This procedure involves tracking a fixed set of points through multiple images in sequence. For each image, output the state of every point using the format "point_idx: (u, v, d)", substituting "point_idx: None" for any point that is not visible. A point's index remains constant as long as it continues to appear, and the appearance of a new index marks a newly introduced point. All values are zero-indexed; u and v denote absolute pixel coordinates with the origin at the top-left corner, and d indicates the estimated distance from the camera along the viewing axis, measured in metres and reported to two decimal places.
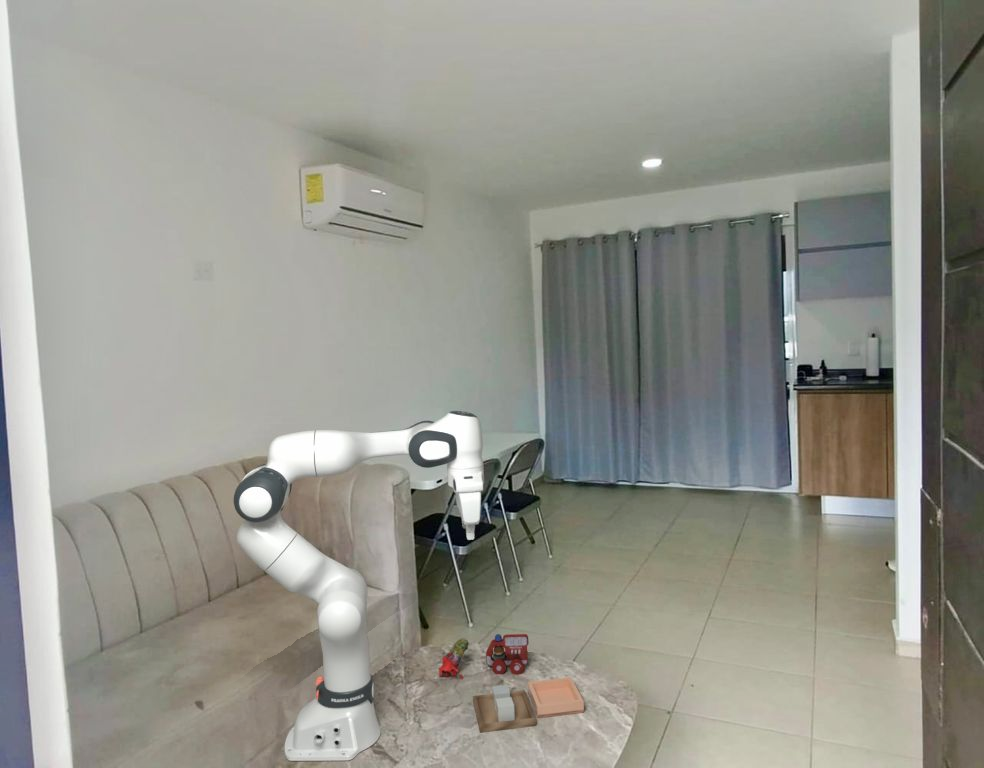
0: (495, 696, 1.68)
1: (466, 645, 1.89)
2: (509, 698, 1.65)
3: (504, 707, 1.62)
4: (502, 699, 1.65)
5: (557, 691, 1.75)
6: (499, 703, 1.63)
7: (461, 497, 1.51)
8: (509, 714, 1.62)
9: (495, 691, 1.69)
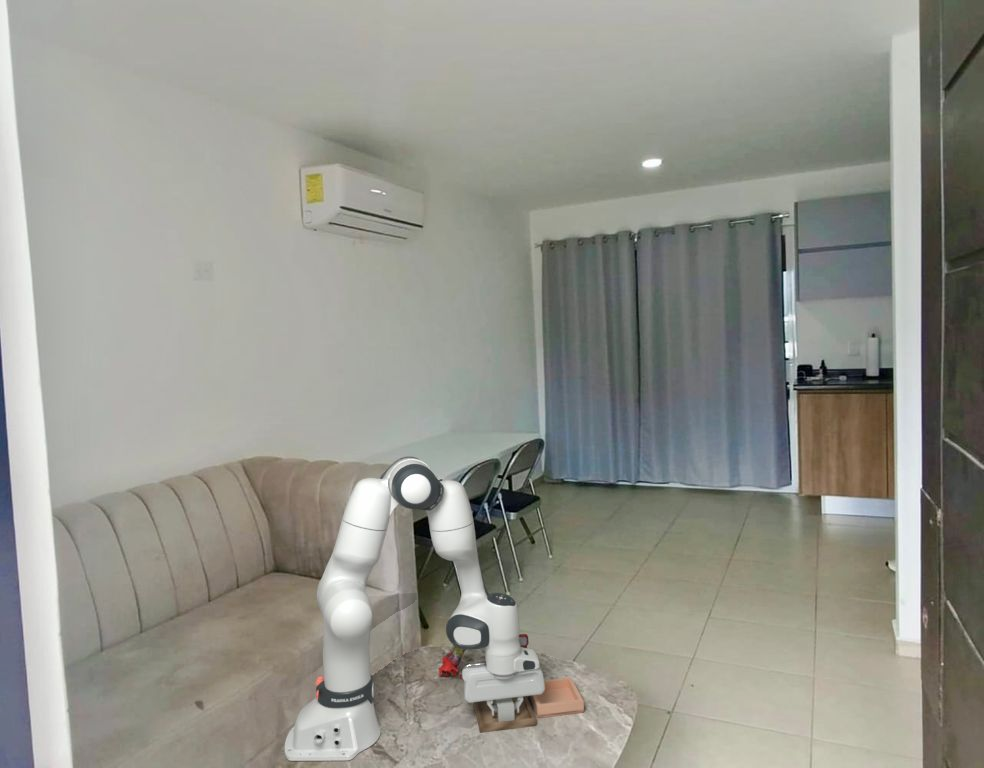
0: None
1: None
2: (509, 698, 1.65)
3: (504, 707, 1.62)
4: (502, 699, 1.65)
5: (557, 691, 1.75)
6: (499, 703, 1.63)
7: (540, 670, 1.62)
8: (509, 714, 1.62)
9: None
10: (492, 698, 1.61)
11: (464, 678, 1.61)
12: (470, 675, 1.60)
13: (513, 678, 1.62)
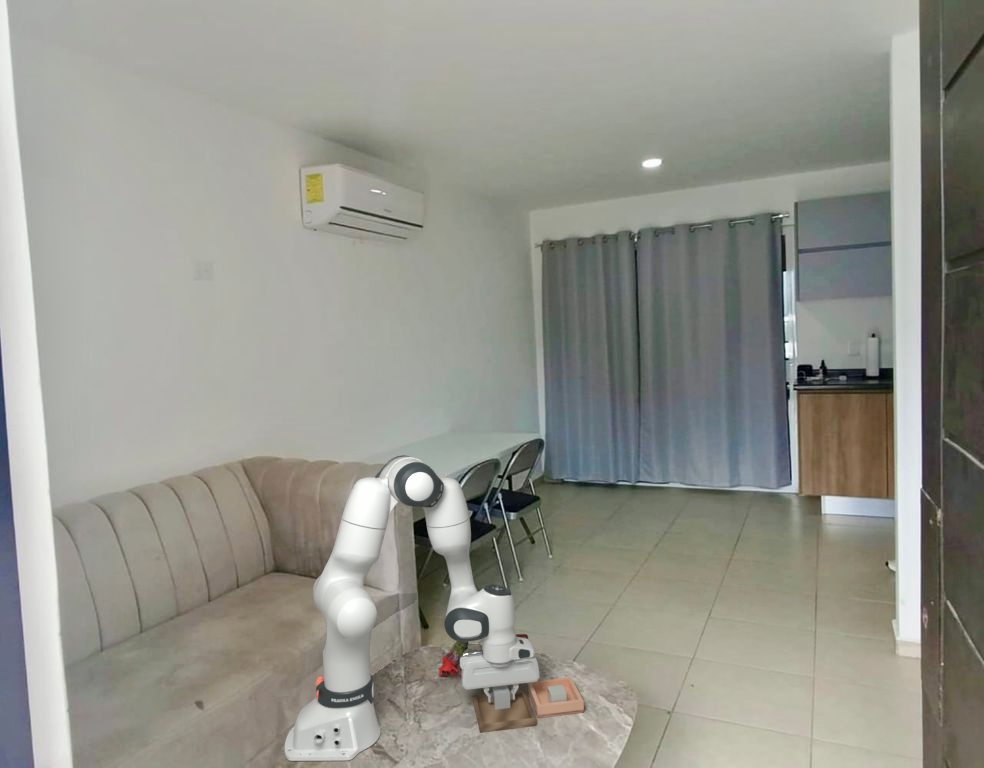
0: (495, 696, 1.68)
1: (466, 645, 1.89)
2: (560, 686, 1.70)
3: (557, 694, 1.66)
4: (554, 687, 1.69)
5: None
6: (552, 690, 1.68)
7: (535, 658, 1.68)
8: (561, 701, 1.66)
9: (495, 691, 1.69)
10: (489, 685, 1.67)
11: (461, 666, 1.67)
12: (467, 664, 1.66)
13: (509, 666, 1.68)
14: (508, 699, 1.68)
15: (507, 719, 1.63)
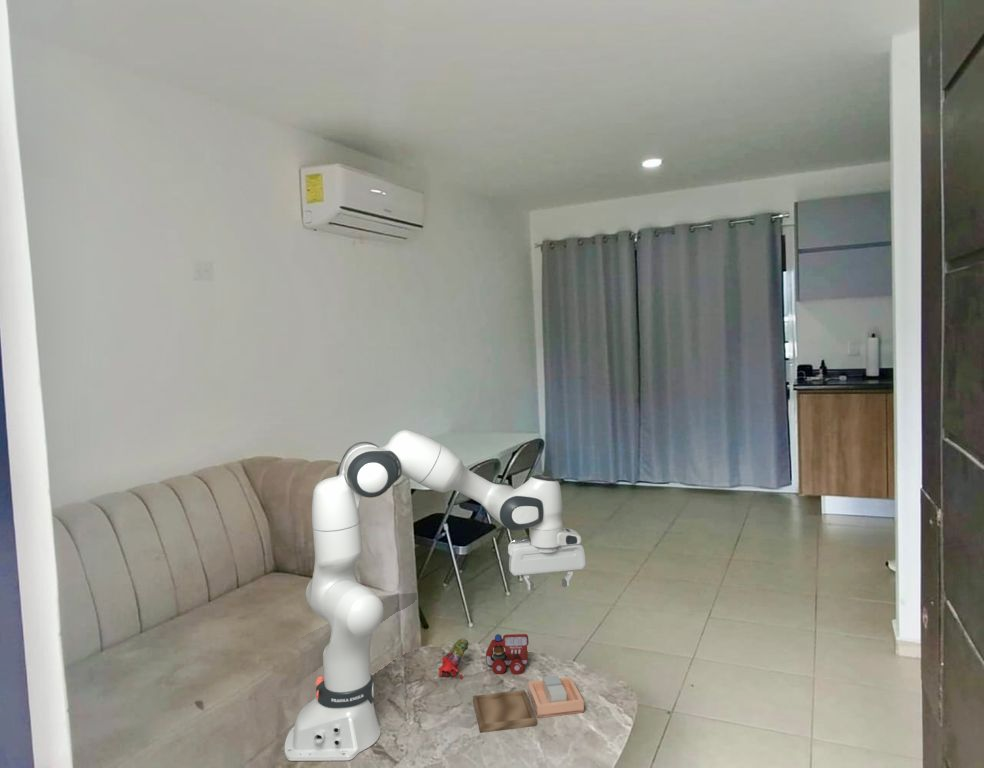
0: (547, 686, 1.71)
1: (466, 645, 1.88)
2: (560, 686, 1.70)
3: (557, 694, 1.66)
4: (554, 687, 1.69)
5: None
6: (552, 690, 1.68)
7: (582, 546, 1.71)
8: (561, 701, 1.66)
9: (547, 681, 1.72)
10: (536, 572, 1.70)
11: (510, 553, 1.70)
12: (515, 549, 1.69)
13: (556, 553, 1.71)
14: None
15: (507, 719, 1.63)
